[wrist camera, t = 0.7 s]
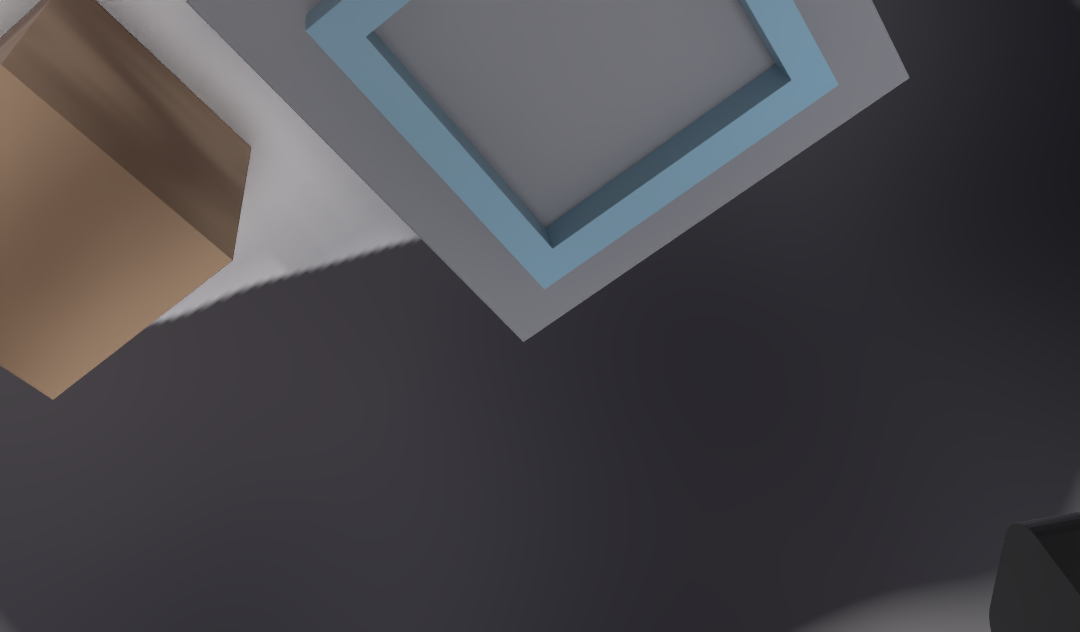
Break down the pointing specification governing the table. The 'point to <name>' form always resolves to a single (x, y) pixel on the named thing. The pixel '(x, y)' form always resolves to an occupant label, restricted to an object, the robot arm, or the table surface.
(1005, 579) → the robot arm
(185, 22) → the table surface
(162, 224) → the walnut block
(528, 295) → the baseplate
